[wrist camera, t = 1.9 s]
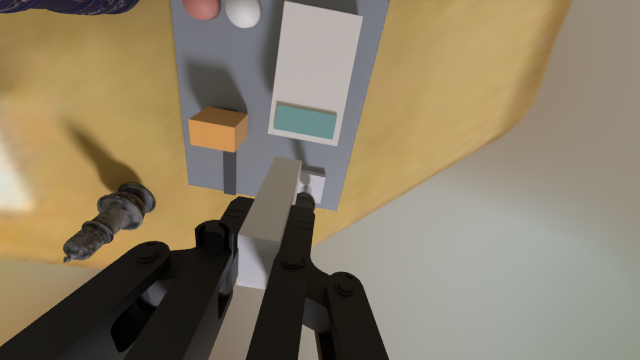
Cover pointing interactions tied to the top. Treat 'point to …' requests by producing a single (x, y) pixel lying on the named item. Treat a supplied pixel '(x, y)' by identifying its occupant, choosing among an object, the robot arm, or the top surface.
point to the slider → (218, 129)
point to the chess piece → (110, 220)
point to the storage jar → (70, 6)
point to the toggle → (305, 197)
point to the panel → (261, 91)
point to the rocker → (313, 72)
